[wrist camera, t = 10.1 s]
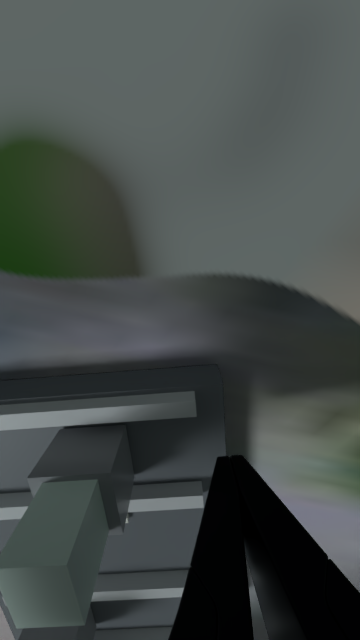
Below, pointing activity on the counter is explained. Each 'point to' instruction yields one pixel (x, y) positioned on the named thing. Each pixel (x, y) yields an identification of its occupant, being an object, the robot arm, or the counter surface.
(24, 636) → the fader
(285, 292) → the counter surface
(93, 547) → the fader
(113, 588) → the console
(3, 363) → the counter surface
